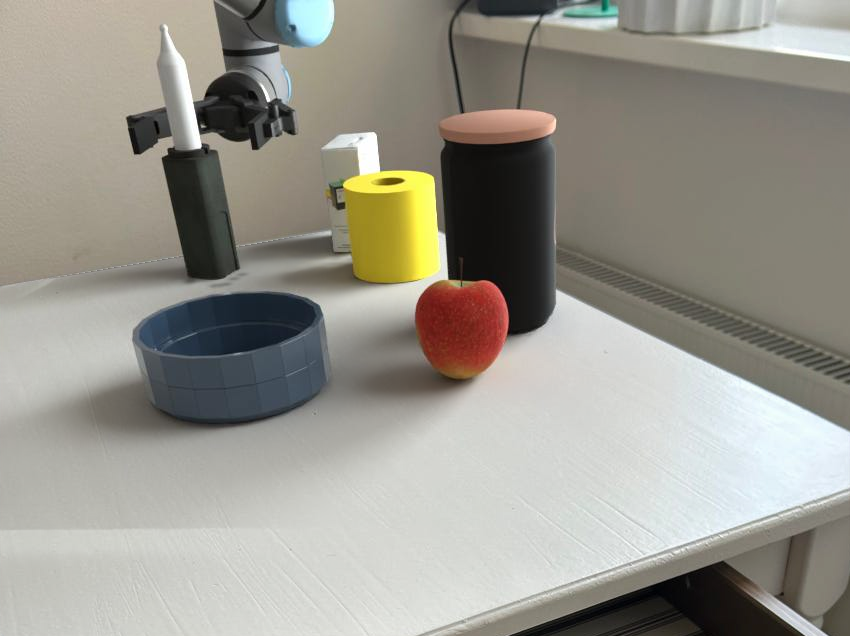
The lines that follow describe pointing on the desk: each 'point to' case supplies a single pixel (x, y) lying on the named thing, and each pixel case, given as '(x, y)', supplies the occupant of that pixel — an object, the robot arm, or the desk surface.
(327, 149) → the ink box
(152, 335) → the bowl
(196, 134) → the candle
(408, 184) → the yellow toilet paper roll
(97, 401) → the desk surface
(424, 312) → the apple
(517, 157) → the coffee jar
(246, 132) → the robot arm
